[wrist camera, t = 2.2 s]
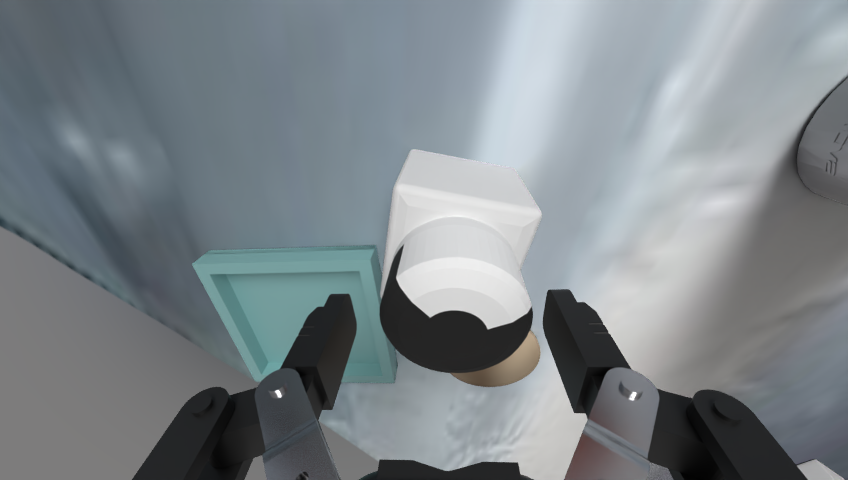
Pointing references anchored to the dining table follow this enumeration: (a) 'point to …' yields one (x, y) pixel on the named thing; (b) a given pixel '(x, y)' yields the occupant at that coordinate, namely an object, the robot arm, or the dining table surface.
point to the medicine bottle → (457, 263)
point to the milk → (817, 471)
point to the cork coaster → (507, 366)
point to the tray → (297, 303)
